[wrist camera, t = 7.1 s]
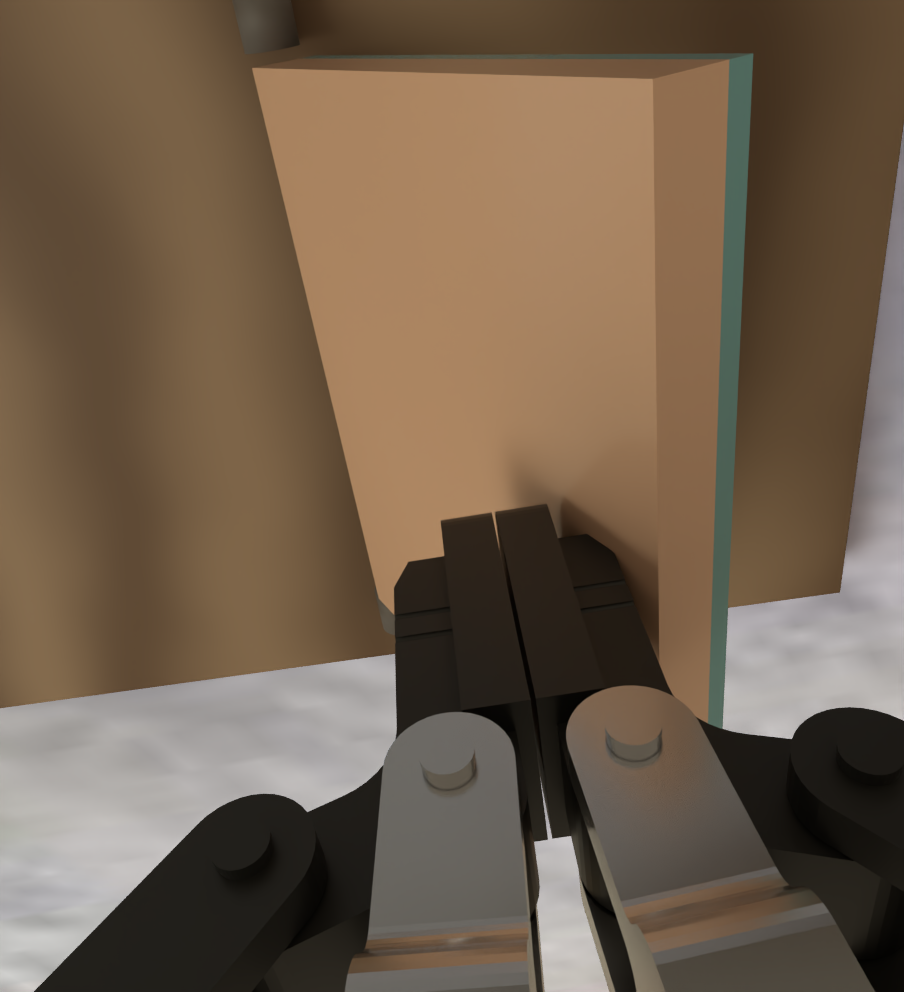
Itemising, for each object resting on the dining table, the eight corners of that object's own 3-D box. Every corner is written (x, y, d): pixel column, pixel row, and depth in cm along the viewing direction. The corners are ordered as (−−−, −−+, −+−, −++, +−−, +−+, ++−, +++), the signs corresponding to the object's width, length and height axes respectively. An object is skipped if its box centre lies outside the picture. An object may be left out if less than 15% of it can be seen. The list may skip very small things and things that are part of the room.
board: (17, 671, 25) (-20, 738, 23) (-378, -25, 16) (-503, -23, 14) (817, 560, 25) (857, 618, 22) (909, -244, 15) (996, -281, 13)
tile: (252, 68, 15) (314, 55, 15) (378, 598, 21) (419, 578, 22) (652, 77, 7) (752, 53, 8) (661, 902, 13) (715, 862, 14)
